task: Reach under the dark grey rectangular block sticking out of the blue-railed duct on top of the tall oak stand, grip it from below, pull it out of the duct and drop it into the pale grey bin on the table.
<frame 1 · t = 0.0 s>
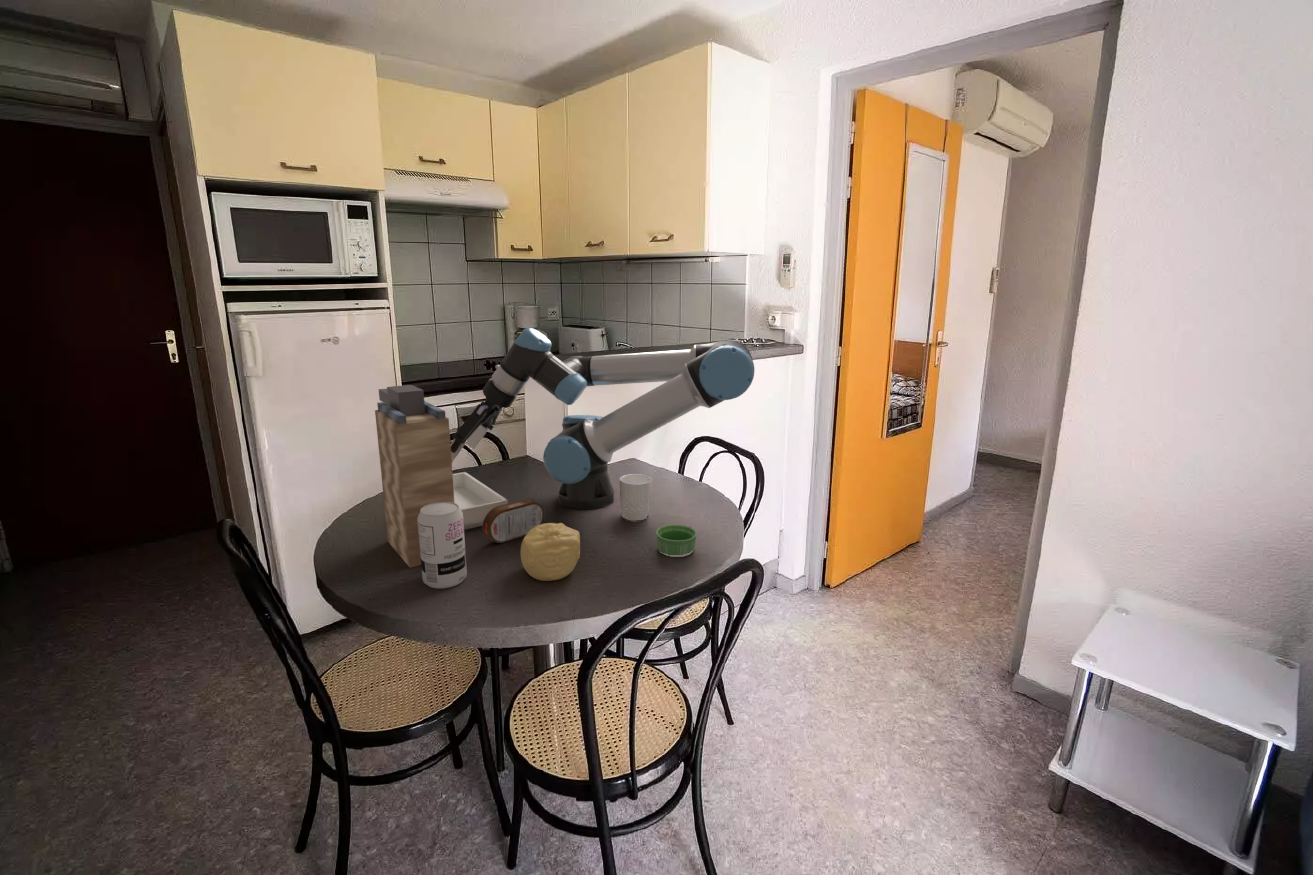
hand: (458, 452, 153), 15 cm above the table, tool tilted 35°, fingers open, 13 cm apart
supplement can: (445, 581, 121), on the table
dark grey rectangular block: (400, 408, 132), point 30 cm above the table, touching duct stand
white cup: (635, 517, 155), on the table
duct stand: (422, 548, 135), on the table
tin: (515, 538, 141), on the table
sculpture: (550, 574, 124), on the table
ramekin: (675, 551, 136), on the table
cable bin: (460, 508, 158), on the table
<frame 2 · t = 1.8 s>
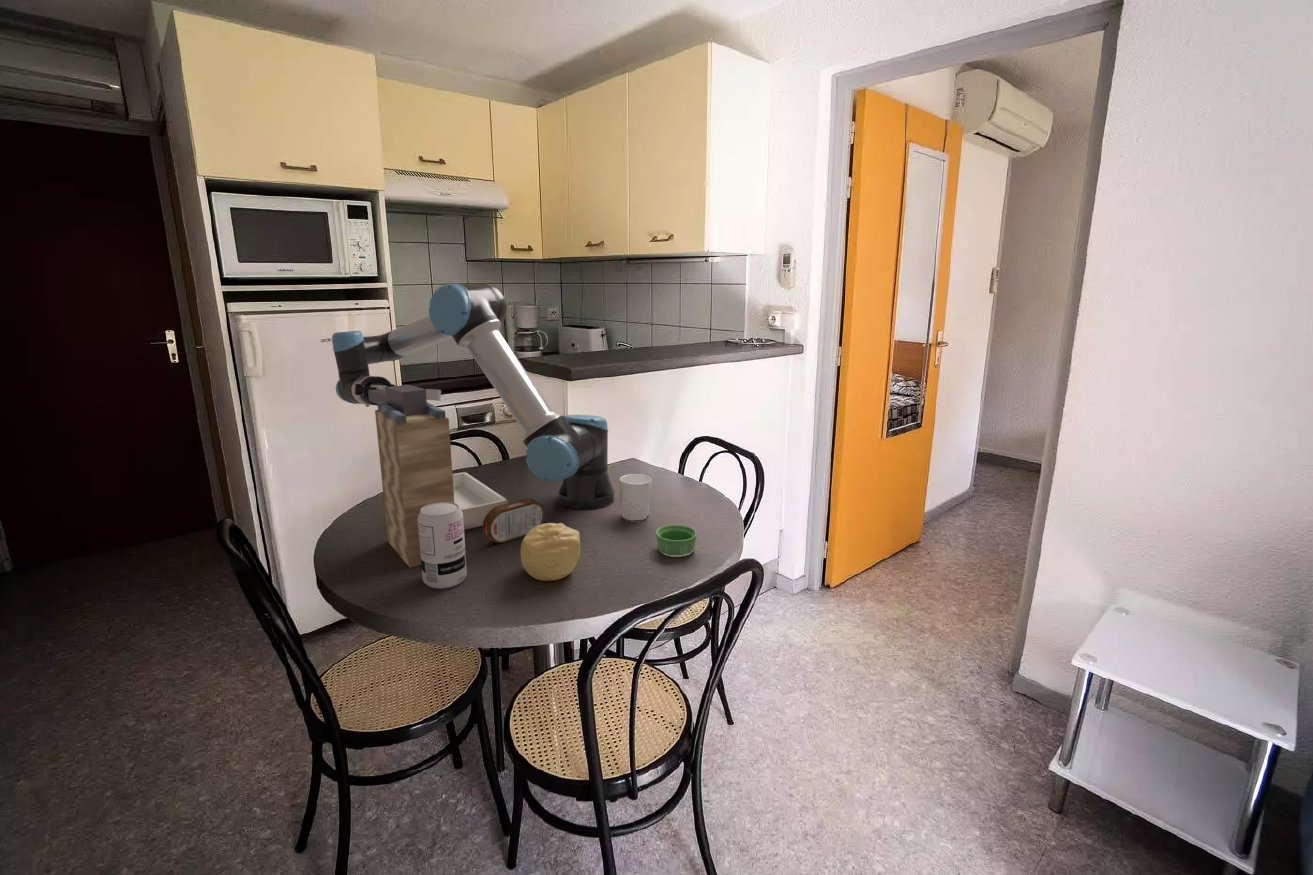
hand: (413, 393, 146), 31 cm above the table, tool horizontal, fingers open, 13 cm apart
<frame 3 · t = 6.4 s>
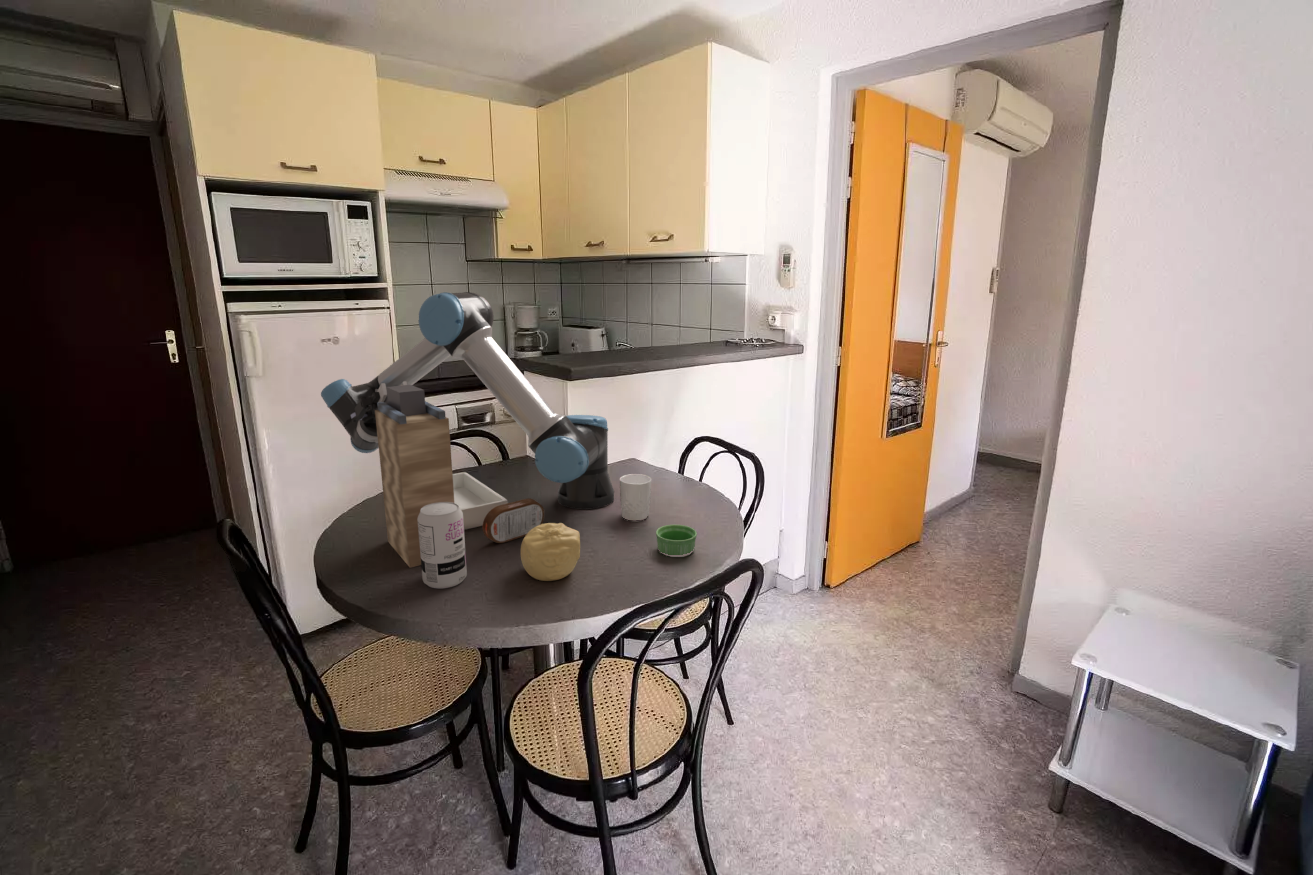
hand: (395, 388, 134), 34 cm above the table, tool pointing upward, fingers open, 4 cm apart
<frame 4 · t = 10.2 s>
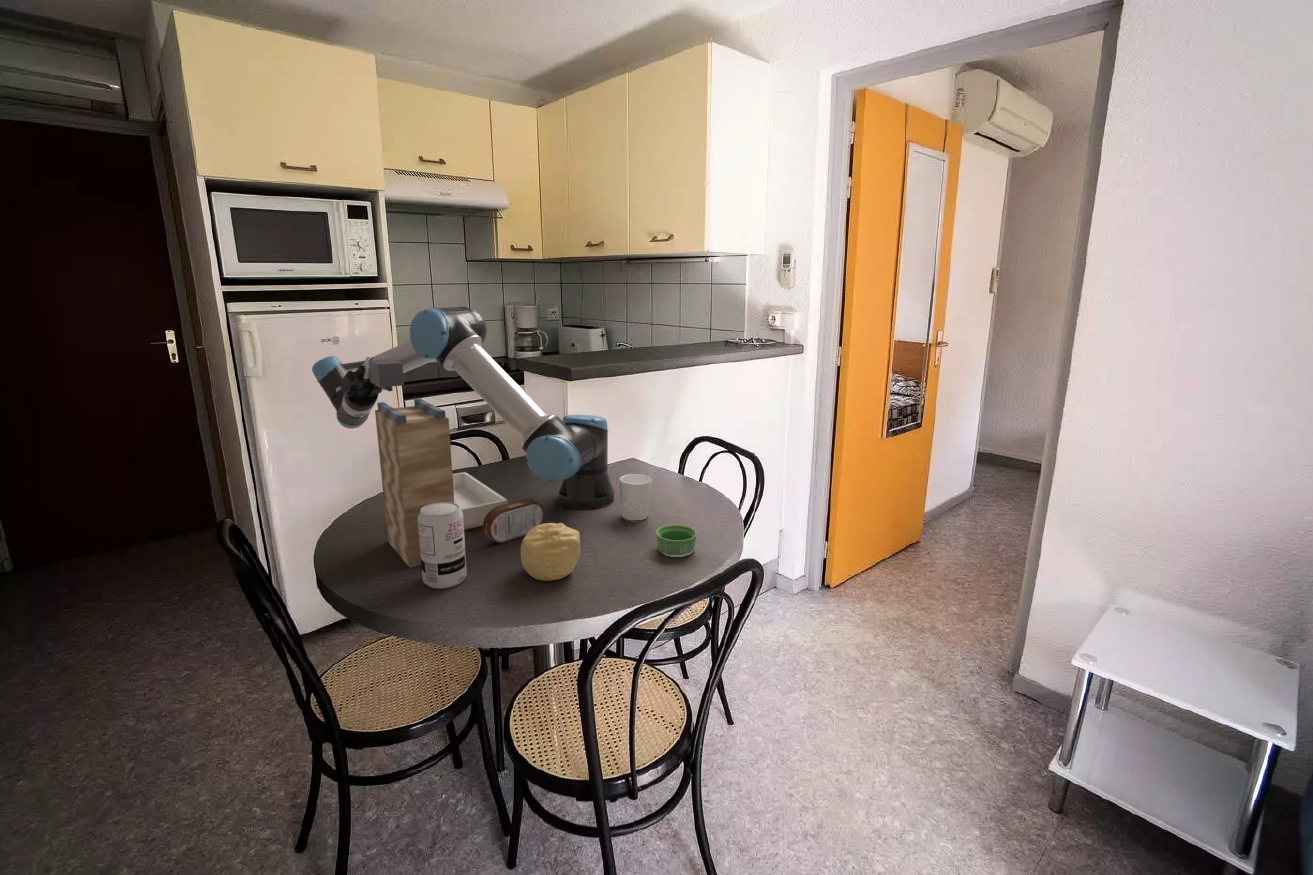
hand: (376, 362, 142), 38 cm above the table, tool pointing upward, fingers closed on dark grey rectangular block, 2 cm apart
dark grey rectangular block: (381, 381, 141), point 34 cm above the table, touching gripper
everything else where it was.
when the fingers open (26 cm above the table, at t = 13.9 s): dark grey rectangular block drops 21 cm, resting on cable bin.
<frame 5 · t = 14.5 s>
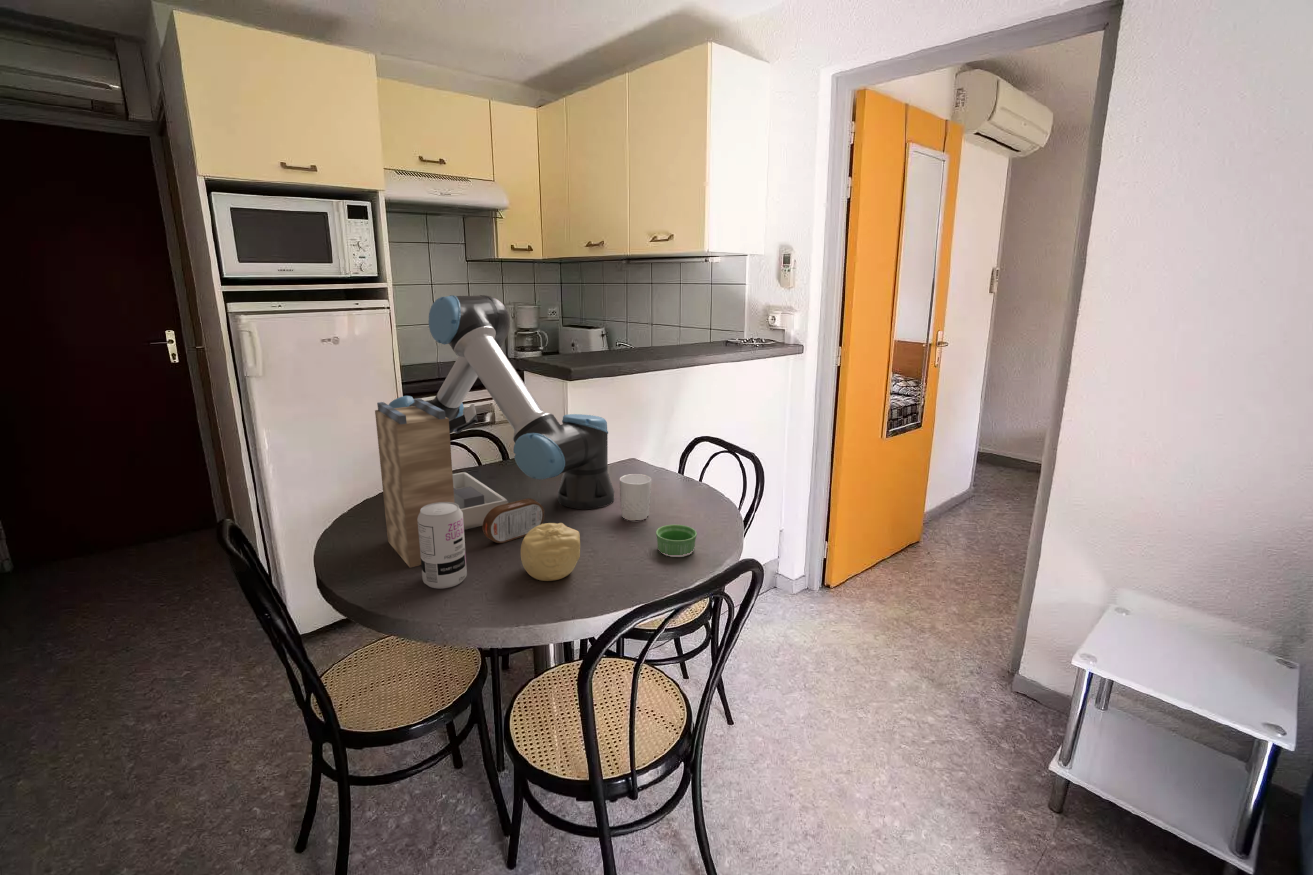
hand: (450, 411, 153), 25 cm above the table, tool pointing upward, fingers open, 11 cm apart
dark grey rectangular block: (461, 506, 157), point 1 cm above the table, touching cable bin
everything else where it was.
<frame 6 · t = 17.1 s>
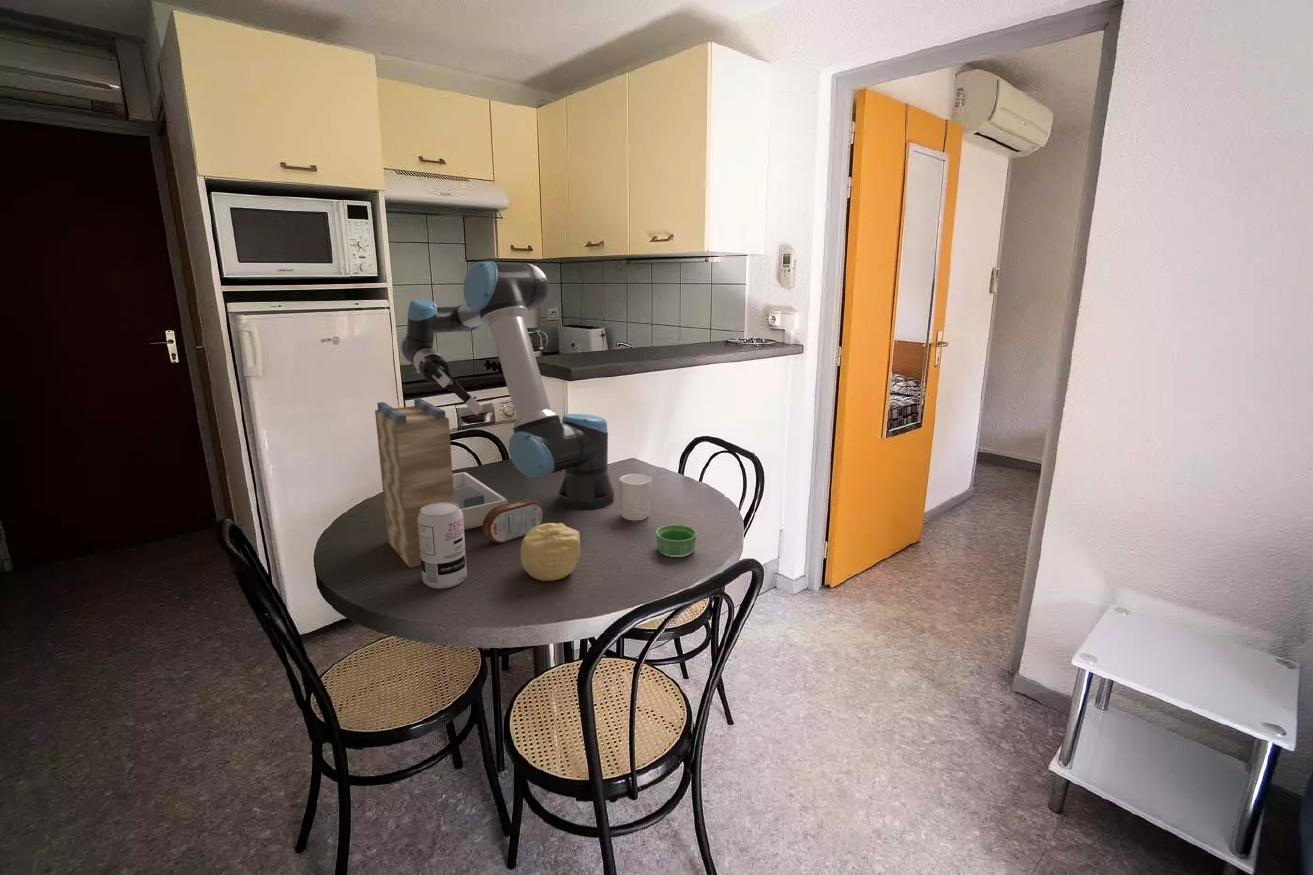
hand: (463, 397, 164), 26 cm above the table, tool tilted 75°, fingers open, 13 cm apart
nothing on the table moved.
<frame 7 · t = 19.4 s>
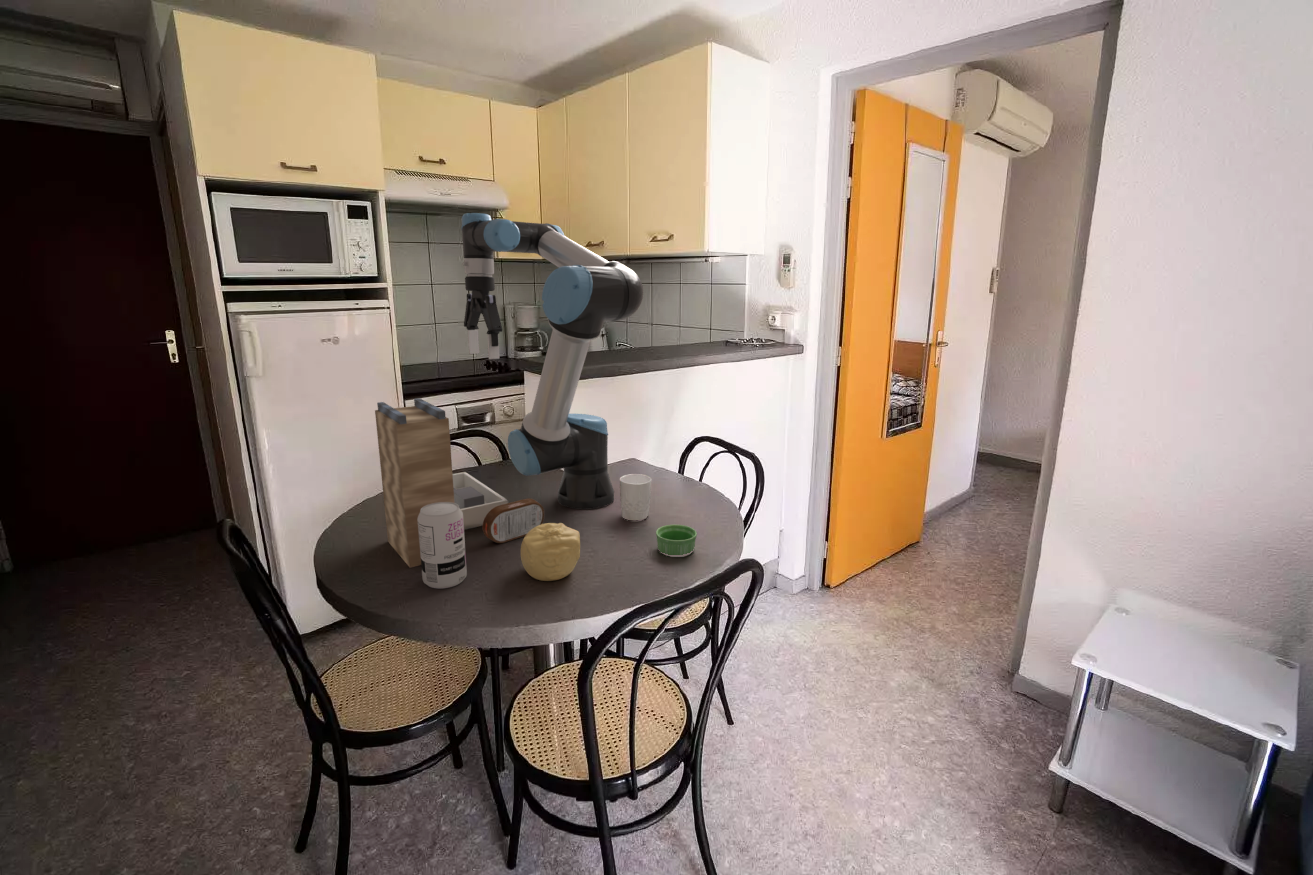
hand: (483, 356, 168), 37 cm above the table, tool pointing down, fingers open, 13 cm apart
nothing on the table moved.
at the end: dark grey rectangular block inside the target area on the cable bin (1.3 cm from its centre), point 1.0 cm above the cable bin's base; dark grey rectangular block touching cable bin; the gripper is holding nothing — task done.
